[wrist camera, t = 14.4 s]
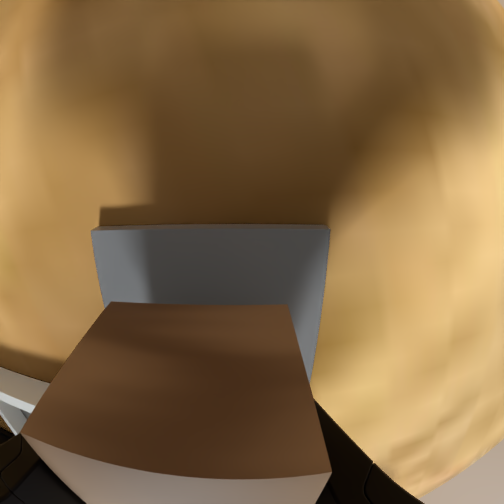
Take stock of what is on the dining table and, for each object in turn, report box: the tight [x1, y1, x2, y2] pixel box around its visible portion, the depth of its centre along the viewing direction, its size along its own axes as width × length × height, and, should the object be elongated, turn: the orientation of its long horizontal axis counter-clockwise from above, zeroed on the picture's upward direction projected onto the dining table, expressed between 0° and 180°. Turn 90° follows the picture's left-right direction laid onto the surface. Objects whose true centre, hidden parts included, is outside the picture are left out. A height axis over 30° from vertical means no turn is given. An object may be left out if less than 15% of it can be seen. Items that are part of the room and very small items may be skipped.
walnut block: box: [20, 301, 332, 504], centre depth 6 cm, size 5×5×5 cm
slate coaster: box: [91, 224, 330, 384], centre depth 11 cm, size 8×8×1 cm
